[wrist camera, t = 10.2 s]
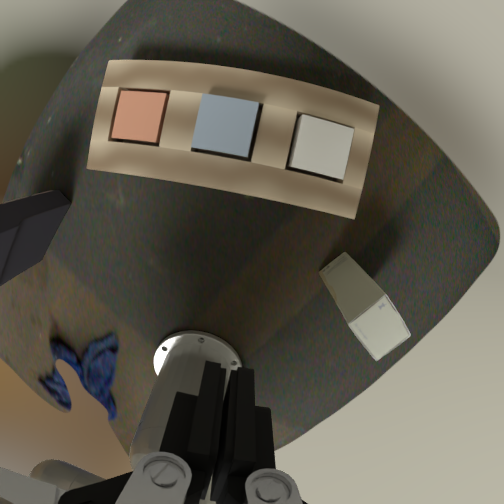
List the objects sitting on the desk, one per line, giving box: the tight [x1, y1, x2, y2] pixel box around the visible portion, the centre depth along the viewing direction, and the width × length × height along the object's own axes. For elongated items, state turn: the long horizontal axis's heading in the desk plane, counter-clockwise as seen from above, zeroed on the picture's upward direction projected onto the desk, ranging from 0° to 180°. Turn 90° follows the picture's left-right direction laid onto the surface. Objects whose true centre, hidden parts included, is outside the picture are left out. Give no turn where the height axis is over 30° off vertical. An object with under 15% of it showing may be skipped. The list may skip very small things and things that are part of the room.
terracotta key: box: [111, 91, 169, 143], centre depth 27 cm, size 5×5×3 cm
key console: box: [87, 60, 379, 219], centre depth 28 cm, size 12×28×5 cm, turn 78°
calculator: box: [0, 190, 71, 286], centre depth 27 cm, size 11×4×15 cm, turn 137°
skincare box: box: [319, 252, 411, 361], centre depth 30 cm, size 6×4×12 cm
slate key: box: [191, 94, 259, 157], centre depth 26 cm, size 5×5×3 cm
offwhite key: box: [288, 114, 354, 180], centre depth 27 cm, size 5×5×3 cm
